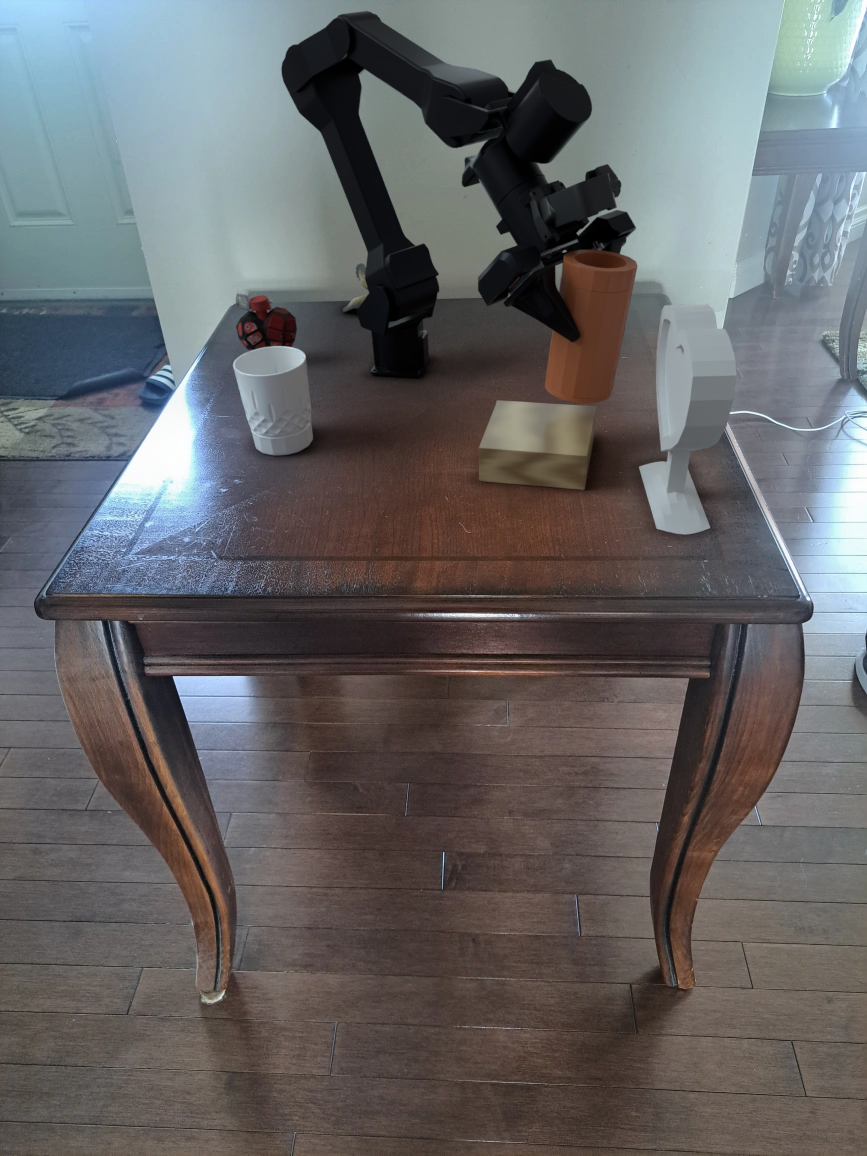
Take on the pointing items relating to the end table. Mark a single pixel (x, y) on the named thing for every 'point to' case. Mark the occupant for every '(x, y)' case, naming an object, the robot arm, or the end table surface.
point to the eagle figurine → (361, 275)
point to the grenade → (264, 323)
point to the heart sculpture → (687, 410)
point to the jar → (591, 325)
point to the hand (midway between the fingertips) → (600, 328)
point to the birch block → (538, 444)
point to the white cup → (276, 398)
